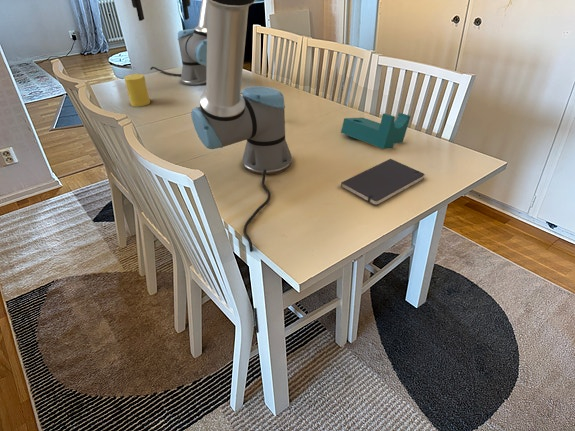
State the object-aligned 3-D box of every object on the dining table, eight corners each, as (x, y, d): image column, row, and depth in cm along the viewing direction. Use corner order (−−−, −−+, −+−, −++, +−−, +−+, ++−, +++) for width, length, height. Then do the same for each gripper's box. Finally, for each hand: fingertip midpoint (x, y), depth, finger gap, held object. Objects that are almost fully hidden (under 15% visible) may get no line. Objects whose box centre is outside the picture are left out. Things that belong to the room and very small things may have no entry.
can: (150, 99, 176) (144, 73, 170) (149, 105, 170) (143, 78, 163) (132, 100, 175) (125, 74, 169) (129, 107, 169) (122, 80, 162)
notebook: (389, 163, 124) (340, 187, 113) (390, 158, 123) (341, 182, 112) (424, 178, 116) (375, 206, 105) (425, 174, 115) (376, 201, 104)
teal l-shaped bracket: (401, 146, 136) (410, 115, 131) (383, 149, 129) (392, 116, 124) (359, 131, 147) (366, 102, 142) (340, 132, 139) (347, 102, 135)
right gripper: (197, -70, 110) (208, 16, 122) (107, -67, 111) (127, 17, 123) (191, -70, 104) (203, 20, 116) (96, -67, 105) (118, 22, 117)
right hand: (164, 19), depth 120 cm, fingers open, 13 cm apart
